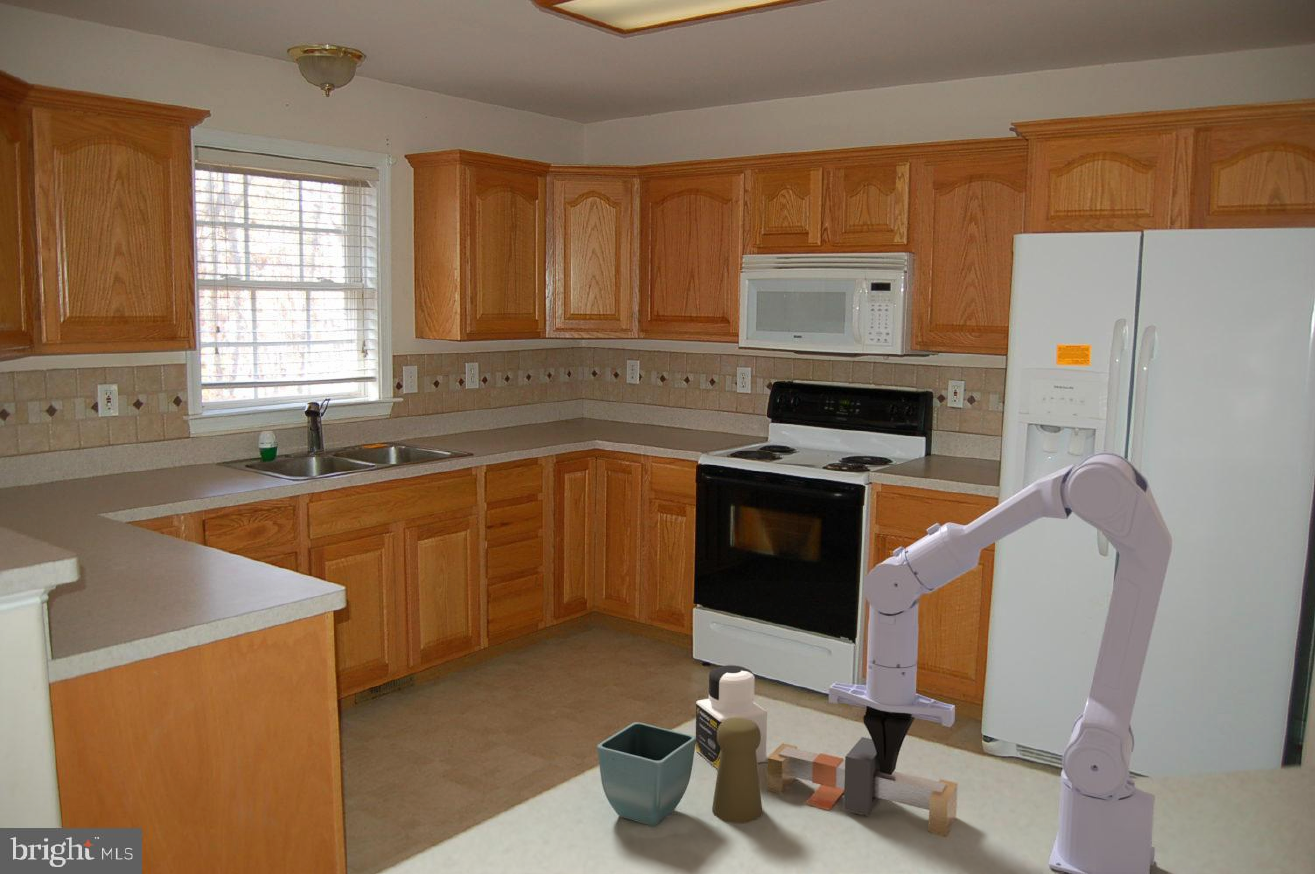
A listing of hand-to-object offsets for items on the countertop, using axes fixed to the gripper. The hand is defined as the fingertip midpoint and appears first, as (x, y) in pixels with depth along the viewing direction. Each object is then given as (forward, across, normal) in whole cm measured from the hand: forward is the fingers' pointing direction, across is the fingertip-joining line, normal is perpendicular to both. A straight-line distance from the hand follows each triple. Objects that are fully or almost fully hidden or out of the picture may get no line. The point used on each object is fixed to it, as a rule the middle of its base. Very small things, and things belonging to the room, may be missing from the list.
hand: (887, 770), depth 116 cm
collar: (+5, +3, 0) cm, 6 cm away
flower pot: (+5, +24, +15) cm, 29 cm away
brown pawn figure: (+5, +15, +9) cm, 19 cm away
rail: (+5, +3, 0) cm, 6 cm away
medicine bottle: (+5, +22, -4) cm, 23 cm away
